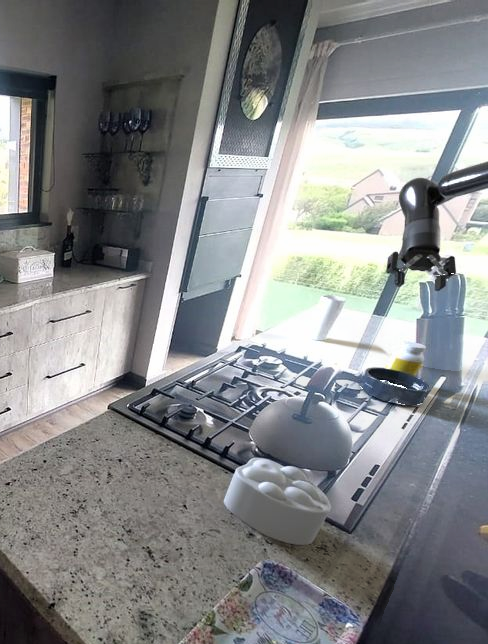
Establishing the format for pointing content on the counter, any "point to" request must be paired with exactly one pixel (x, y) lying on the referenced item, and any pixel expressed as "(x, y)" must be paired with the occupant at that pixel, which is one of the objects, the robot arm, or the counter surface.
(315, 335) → the drinking glass
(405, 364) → the pill bottle
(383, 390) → the ring
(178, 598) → the counter surface
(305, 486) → the lumpy-topped squat cylinder
